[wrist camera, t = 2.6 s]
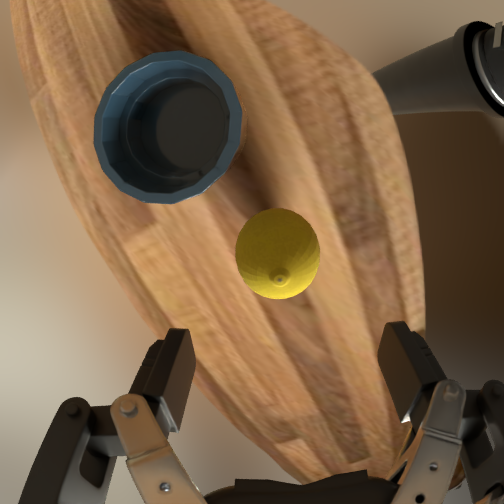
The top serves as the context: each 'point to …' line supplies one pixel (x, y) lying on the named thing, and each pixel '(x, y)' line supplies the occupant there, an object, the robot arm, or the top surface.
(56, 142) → the top surface
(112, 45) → the top surface
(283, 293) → the lemon
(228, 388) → the top surface
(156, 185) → the bowl
